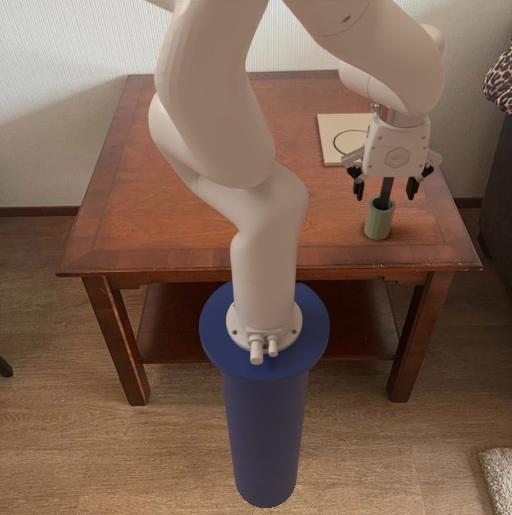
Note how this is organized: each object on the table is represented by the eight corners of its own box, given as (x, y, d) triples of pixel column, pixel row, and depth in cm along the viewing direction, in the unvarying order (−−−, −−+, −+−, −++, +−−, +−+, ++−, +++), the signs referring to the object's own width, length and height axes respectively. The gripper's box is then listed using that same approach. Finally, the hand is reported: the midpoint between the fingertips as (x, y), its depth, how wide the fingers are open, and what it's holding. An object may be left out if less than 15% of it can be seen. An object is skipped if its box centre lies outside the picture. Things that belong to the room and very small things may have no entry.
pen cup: (391, 239, 97) (398, 212, 91) (365, 240, 97) (371, 212, 92) (386, 222, 100) (393, 195, 95) (362, 222, 100) (367, 195, 95)
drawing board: (397, 165, 112) (398, 160, 112) (324, 166, 113) (325, 161, 112) (381, 116, 126) (382, 112, 125) (317, 117, 126) (317, 113, 126)
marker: (383, 232, 97) (395, 178, 88) (373, 232, 97) (385, 178, 88) (381, 226, 98) (393, 171, 89) (372, 226, 98) (383, 171, 89)
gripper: (349, 123, 77) (337, 210, 89) (465, 122, 76) (436, 209, 89) (343, 98, 82) (333, 183, 94) (451, 96, 82) (426, 182, 94)
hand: (383, 195), depth 92 cm, fingers open, 8 cm apart
